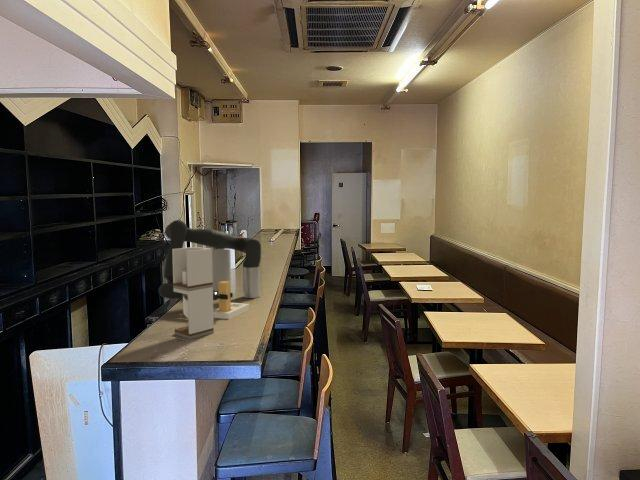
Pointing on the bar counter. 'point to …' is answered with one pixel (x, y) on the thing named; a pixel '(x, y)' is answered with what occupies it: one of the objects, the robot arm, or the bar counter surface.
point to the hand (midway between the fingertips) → (229, 296)
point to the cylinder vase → (221, 267)
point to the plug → (225, 289)
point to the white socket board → (231, 311)
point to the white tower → (194, 289)
